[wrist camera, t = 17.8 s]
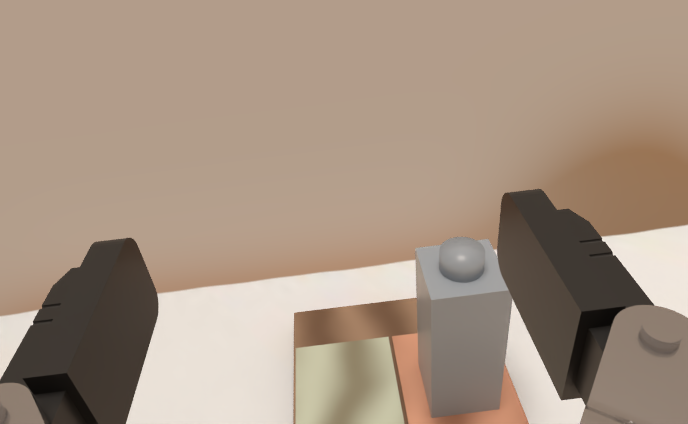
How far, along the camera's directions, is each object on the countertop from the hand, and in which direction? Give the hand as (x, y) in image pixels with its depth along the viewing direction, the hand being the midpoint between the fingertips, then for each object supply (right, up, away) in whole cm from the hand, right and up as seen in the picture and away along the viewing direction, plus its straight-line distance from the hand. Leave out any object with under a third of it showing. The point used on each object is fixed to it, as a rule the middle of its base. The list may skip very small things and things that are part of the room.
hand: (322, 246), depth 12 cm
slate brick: (+9, -13, +29) cm, 33 cm away
